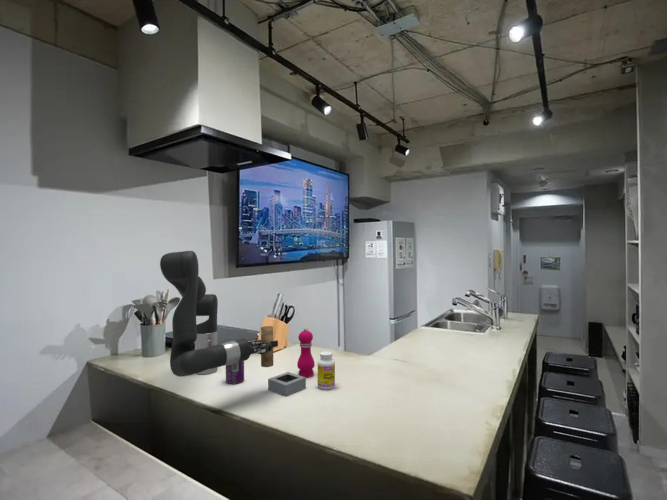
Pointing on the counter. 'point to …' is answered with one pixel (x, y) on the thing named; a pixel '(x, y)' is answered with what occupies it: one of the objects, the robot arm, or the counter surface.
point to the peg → (265, 337)
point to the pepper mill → (305, 354)
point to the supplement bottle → (326, 371)
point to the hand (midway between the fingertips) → (272, 342)
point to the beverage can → (235, 372)
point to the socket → (286, 383)
